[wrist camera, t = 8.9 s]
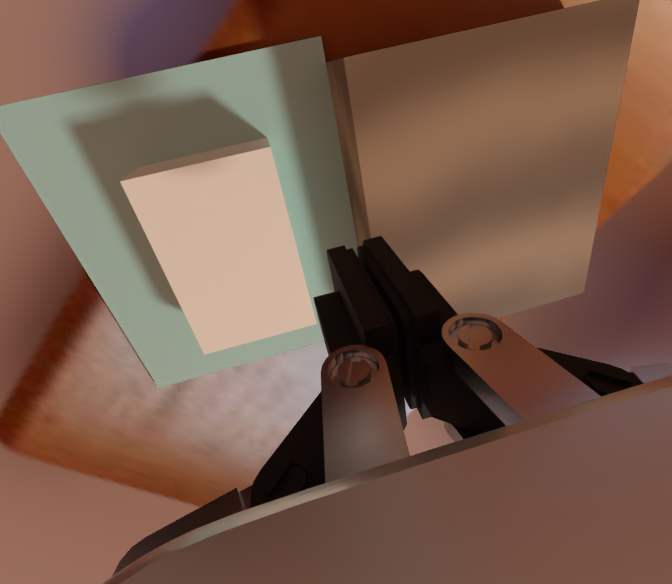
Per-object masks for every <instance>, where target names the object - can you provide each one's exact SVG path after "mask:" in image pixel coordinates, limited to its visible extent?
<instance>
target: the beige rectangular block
mask: <svg viewBox="0 0 672 584" xmlns="http://www.w3.org/2000/svg"><path fill="white" fill-rule="evenodd" d="M120 183H121V185H122V187H123V189H124V191H125V193H126V195H127V197H128V199H129V201H130V203H131V205H132V207H133V210H134V212H135V214H136V216H137V218H138V220H139V222H140V224H141V226H142V228H143V230H144V232H145V234H146V236H147V238H148V240H149V242H150V244H151V246H152V249H153V251H154V253H155V255H156V257H157V259H158V261H159V263H160V265H161V267H162V269H163V271H164V273H165V275H166V277H167V279H168V281H169V283H170V285H171V288H172V290H173V292H174V294H175V296H176V298H177V300H178V302H179V304H180V306H181V308H182V310H183V312H184V314H185V316H186V318H187V320H188V322H189V324H190V327H191V329H192V331H193V333H194V335H195V337H196V339H197V341H198V343H199V345H200V347H201V349H202V351H203V353H204V355H206V354H209V353H213V352H217V351H220V350H224V349H227V348H231V347H235V346H238V345H242V344H246V343H249V342H253V341H257V340H260V339H264V338H268V337H271V336H275V335H279V334H282V333H286V332H289V331H293V330H297V329H300V328H304V327H308V326H311V325H315V324H317V322H316V319H315V315H314V311H313V307H312V303H311V299H310V296H309V292H308V288H307V284H306V280H305V277H304V273H303V269H302V265H301V261H300V257H299V254H298V250H297V246H296V242H295V238H294V234H293V231H292V227H291V223H290V219H289V215H288V212H287V208H286V204H285V200H284V196H283V192H282V189H281V185H280V181H279V177H278V173H277V170H276V166H275V162H274V158H273V154H272V150H271V147H270V144H269V141H268V138H263V139H258V140H254V141H250V142H245V143H241V144H237V145H232V146H228V147H223V148H219V149H215V150H210V151H206V152H202V153H197V154H193V155H188V156H184V157H180V158H175V159H171V160H167V161H162V162H158V163H153V164H149V165H145V166H140V167H138V168H137V169H136V170H134V171H133V172H132V173H130V174H129V175H128V176H126V177H125V178H124V179H123V180H121V181H120Z"/></svg>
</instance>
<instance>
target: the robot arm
mask: <svg viewBox="0 0 672 584" xmlns="http://www.w3.org/2000/svg"><path fill="white" fill-rule="evenodd" d="M326 252H327V258H328V263H329V267H330V272H331V277H332V281H333V286H334V291H335V292H331V293H327V294H324V295H320V296H316V297H313V298H314V303H315V307H316V311H317V315H318V319H319V322H320V326H321V330H322V334H323V337H324V341H325V344H326V348H327V351H328V355H329V356H328V357H327V358H326V360H325V361H324V363H323V365H322V369H321V390H322V391H321V392H320V394H319V395H318V396H317V398H316V399H315V400H314V401H313V403H312V404H311V405H310V407H309V408H308V409H307V411H306V412H305V413H304V414H303V416H302V417H301V418H300V420H299V421H298V422H297V424H296V425H295V426H294V427H293V429H292V430H291V431H290V433H289V434H288V435H287V436H286V438H285V439H284V440H283V442H282V443H281V444H280V446H279V447H278V448H277V449H276V451H275V452H274V453H273V455H272V456H271V457H270V459H269V460H268V461H267V462H266V464H265V465H264V466H263V468H262V469H261V470H260V472H259V474H258V475H257V477H256V479H255V480H254V482H253V485H251V486H249V487H247V488H245V489H244V490H242V491H240V492H239V490H238V488H237V487H236V488H235V489H233V490H231V491H229V492H227V493H225V494H224V495H222V496H220V497H218V498H216V499H215V500H213V501H211V502H209V503H207V504H205V505H204V506H202V507H200V508H198V509H196V510H195V511H193V512H191V513H189V514H187V515H185V516H184V517H182V518H180V519H178V520H176V521H175V522H173V523H171V524H169V525H167V526H165V527H163V528H162V529H160V530H158V531H156V532H154V533H152V534H151V535H149V536H147V537H145V538H144V539H142V540H141V541H140V542H138V543H137V544H136V545H134V546H133V547H132V548H131V549H130V550H129V551H128V552H127V553H126V555H125V556H124V557H123V558H122V559H121V561H120V562H119V564H118V566H117V568H116V570H115V572H114V574H113V576H112V577H111V578H110V579H108V580H107V581H106V582H104V583H103V584H672V363H664V364H653V365H642V366H631V367H629V369H628V371H625V370H623V369H621V368H618V367H615V366H612V365H609V364H604V363H600V362H596V361H592V360H588V359H583V358H579V357H575V356H571V355H566V354H562V353H558V352H554V351H549V350H545V349H541V348H536V347H535V346H534V345H532V344H531V343H530V342H528V341H527V340H526V339H524V338H523V337H522V336H520V335H519V334H518V333H516V332H515V331H514V330H512V329H511V328H510V327H508V326H507V325H505V324H504V323H503V322H502V321H500V320H498V319H497V318H495V317H493V316H490V315H486V314H482V313H463V314H459V315H458V314H457V313H456V311H455V310H454V309H453V308H452V307H451V306H450V304H449V303H448V302H447V301H446V300H445V299H444V297H443V296H442V295H441V294H440V293H439V292H438V290H437V289H436V288H435V287H434V286H433V284H432V283H431V282H430V281H429V280H428V279H427V277H426V276H425V275H424V274H423V273H422V272H421V271H420V270H413V271H409V270H408V269H407V267H406V266H405V265H404V264H403V262H402V261H401V260H400V259H399V257H398V256H397V255H396V254H395V252H394V251H393V250H392V249H391V247H390V246H389V245H388V244H387V242H386V241H385V240H384V239H383V237H382V236H378V237H374V238H370V239H366V240H363V242H362V246H358V247H357V253H358V257H357V255H356V253H355V251H354V250H353V248H350V249H346V247H345V246H344V245H343V246H339V247H335V248H331V249H327V250H326ZM404 398H405V400H406V402H407V404H408V406H409V407H410V409H414V408H417V409H418V411H419V413H420V415H421V417H422V419H425V418H429V417H434V418H436V419H439V420H442V421H443V423H444V427H445V429H446V431H447V433H448V434H449V435H450V437H451V438H452V439H453V441H454V443H450V444H447V445H444V446H441V447H438V448H434V449H432V450H428V451H425V452H422V453H419V454H415V455H412V456H410V455H409V451H408V447H407V443H406V439H405V435H404V429H405V427H406V425H407V420H406V410H405V400H404Z"/></svg>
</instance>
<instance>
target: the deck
mask: <svg viewBox="0 0 672 584" xmlns="http://www.w3.org/2000/svg"><path fill="white" fill-rule="evenodd" d="M638 5H639V0H599V1H595V2H590V3H586V4H581V5H577V6H572V7H568V8H564V9H559V10H555V11H550V12H546V13H541V14H537V15H532V16H528V17H523V18H519V19H514V20H510V21H505V22H501V23H496V24H492V25H487V26H483V27H479V28H474V29H470V30H465V31H461V32H456V33H452V34H447V35H443V36H438V37H434V38H429V39H425V40H420V41H416V42H411V43H407V44H402V45H398V46H394V47H389V48H385V49H380V50H376V51H371V52H367V53H362V54H358V55H353V56H349V57H344V58H341V59H337V60H333V61H330V62H326V66H327V72H328V78H329V83H330V89H331V95H332V101H333V106H334V112H335V118H336V123H337V129H338V135H339V141H340V146H341V152H342V158H343V164H344V169H345V175H346V181H347V187H348V192H349V198H350V204H351V209H352V215H353V221H354V227H355V232H356V238H357V244H358V246H362V242H363V240H366V239H370V238H374V237H378V236H382V237H383V239H384V240H385V241H386V242H387V244H388V245H389V246H390V247H391V249H392V250H393V251H394V252H395V254H396V255H397V256H398V257H399V259H400V260H401V261H402V262H403V264H404V265H405V266H406V267H407V269H408V270H409V271H413V270H420V271H421V272H422V273H423V274H424V275H425V276H426V277H427V279H428V280H429V281H430V282H431V283H432V284H433V286H434V287H435V288H436V289H437V290H438V292H439V293H440V294H441V295H442V296H443V297H444V299H445V300H446V301H447V302H448V303H449V304H450V306H451V307H452V308H453V309H454V310H455V311H456V313H457V314H458V315H459V314H463V313H482V314H486V315H490V316H493V317H495V318H499V317H502V316H506V315H509V314H513V313H516V312H520V311H523V310H527V309H530V308H533V307H537V306H540V305H544V304H547V303H551V302H554V301H557V300H561V299H564V298H568V297H571V296H575V295H578V294H581V293H584V288H585V282H586V277H587V272H588V267H589V262H590V257H591V251H592V246H593V241H594V236H595V230H596V225H597V220H598V215H599V209H600V204H601V199H602V194H603V189H604V183H605V178H606V173H607V168H608V162H609V157H610V152H611V147H612V141H613V136H614V131H615V126H616V120H617V115H618V110H619V105H620V100H621V94H622V89H623V84H624V79H625V73H626V68H627V63H628V58H629V52H630V47H631V42H632V37H633V31H634V26H635V21H636V16H637V11H638Z"/></svg>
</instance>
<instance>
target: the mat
mask: <svg viewBox="0 0 672 584" xmlns="http://www.w3.org/2000/svg"><path fill="white" fill-rule="evenodd" d="M0 134H1V135H2V137H3V139H4V141H5V142H6V144H7V145H8V147H9V148H10V150H11V152H12V153H13V155H14V157H15V158H16V160H17V161H18V163H19V165H20V166H21V168H22V170H23V171H24V173H25V174H26V176H27V178H28V179H29V181H30V182H31V184H32V185H33V187H34V189H35V190H36V192H37V194H38V195H39V197H40V198H41V200H42V202H43V203H44V205H45V206H46V208H47V210H48V211H49V213H50V214H51V216H52V218H53V219H54V221H55V222H56V224H57V226H58V227H59V229H60V231H61V232H62V234H63V235H64V237H65V239H66V240H67V242H68V243H69V245H70V246H71V248H72V250H73V251H74V253H75V255H76V256H77V258H78V259H79V261H80V263H81V264H82V266H83V267H84V269H85V271H86V272H87V274H88V276H89V277H90V279H91V280H92V282H93V284H94V285H95V287H96V288H97V290H98V292H99V293H100V295H101V296H102V298H103V300H104V301H105V303H106V304H107V306H108V308H109V309H110V311H111V312H112V314H113V316H114V317H115V319H116V320H117V322H118V324H119V325H120V327H121V329H122V330H123V332H124V333H125V335H126V337H127V338H128V340H129V341H130V343H131V345H132V346H133V348H134V349H135V351H136V353H137V354H138V356H139V357H140V359H141V361H142V362H143V364H144V365H145V367H146V369H147V370H148V372H149V373H150V375H151V377H152V378H153V380H154V382H155V383H156V385H157V386H158V388H161V387H165V386H168V385H172V384H175V383H179V382H182V381H186V380H189V379H193V378H196V377H200V376H203V375H207V374H210V373H214V372H217V371H221V370H224V369H228V368H231V367H235V366H238V365H242V364H245V363H249V362H252V361H256V360H260V359H263V358H267V357H270V356H274V355H277V354H281V353H284V352H288V351H291V350H295V349H298V348H302V347H305V346H309V345H312V344H316V343H319V342H323V341H324V337H323V334H322V330H321V326H320V322H319V319H318V315H317V311H316V307H315V303H314V298H313V297H316V296H320V295H324V294H327V293H331V292H335V291H334V286H333V281H332V277H331V272H330V267H329V263H328V258H327V252H326V250H327V249H331V248H335V247H339V246H343V245H344V246H345V247H346V249H350V248H353V250H354V251H355V253H356V255H357V257H358V253H357V247H358V244H357V238H356V232H355V227H354V221H353V215H352V209H351V204H350V198H349V192H348V187H347V181H346V175H345V169H344V164H343V158H342V152H341V146H340V141H339V135H338V129H337V123H336V118H335V112H334V106H333V101H332V95H331V89H330V83H329V78H328V72H327V66H326V60H325V55H324V49H323V43H322V37H321V36H318V37H313V38H308V39H304V40H299V41H295V42H290V43H285V44H281V45H276V46H272V47H267V48H262V49H258V50H253V51H249V52H244V53H239V54H235V55H230V56H226V57H221V58H216V59H212V60H207V61H203V62H198V63H193V64H189V65H184V66H180V67H175V68H170V69H166V70H162V71H157V72H153V73H148V74H143V75H139V76H134V77H129V78H125V79H120V80H116V81H111V82H106V83H102V84H97V85H93V86H88V87H84V88H79V89H74V90H69V91H65V92H60V93H56V94H51V95H46V96H42V97H37V98H33V99H28V100H23V101H19V102H14V103H10V104H5V105H1V106H0ZM263 138H268V141H269V144H270V147H271V150H272V154H273V158H274V162H275V166H276V170H277V173H278V177H279V181H280V185H281V189H282V192H283V196H284V200H285V204H286V208H287V212H288V215H289V219H290V223H291V227H292V231H293V234H294V238H295V242H296V246H297V250H298V254H299V257H300V261H301V265H302V269H303V273H304V277H305V280H306V284H307V288H308V292H309V296H310V299H311V303H312V307H313V311H314V315H315V319H316V322H317V324H315V325H311V326H308V327H304V328H300V329H297V330H293V331H289V332H286V333H282V334H279V335H275V336H271V337H268V338H264V339H260V340H257V341H253V342H249V343H246V344H242V345H238V346H235V347H231V348H227V349H224V350H220V351H217V352H213V353H209V354H206V355H204V353H203V351H202V349H201V347H200V345H199V343H198V341H197V339H196V337H195V335H194V333H193V331H192V329H191V327H190V324H189V322H188V320H187V318H186V316H185V314H184V312H183V310H182V308H181V306H180V304H179V302H178V300H177V298H176V296H175V294H174V292H173V290H172V288H171V285H170V283H169V281H168V279H167V277H166V275H165V273H164V271H163V269H162V267H161V265H160V263H159V261H158V259H157V257H156V255H155V253H154V251H153V249H152V246H151V244H150V242H149V240H148V238H147V236H146V234H145V232H144V230H143V228H142V226H141V224H140V222H139V220H138V218H137V216H136V214H135V212H134V210H133V207H132V205H131V203H130V201H129V199H128V197H127V195H126V193H125V191H124V189H123V187H122V185H121V183H120V181H121V180H123V179H124V178H125V177H126V176H128V175H129V174H130V173H132V172H133V171H134V170H136V169H137V168H138V167H140V166H145V165H149V164H153V163H158V162H162V161H167V160H171V159H175V158H180V157H184V156H188V155H193V154H197V153H202V152H206V151H210V150H215V149H219V148H223V147H228V146H232V145H237V144H241V143H245V142H250V141H254V140H258V139H263Z"/></svg>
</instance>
